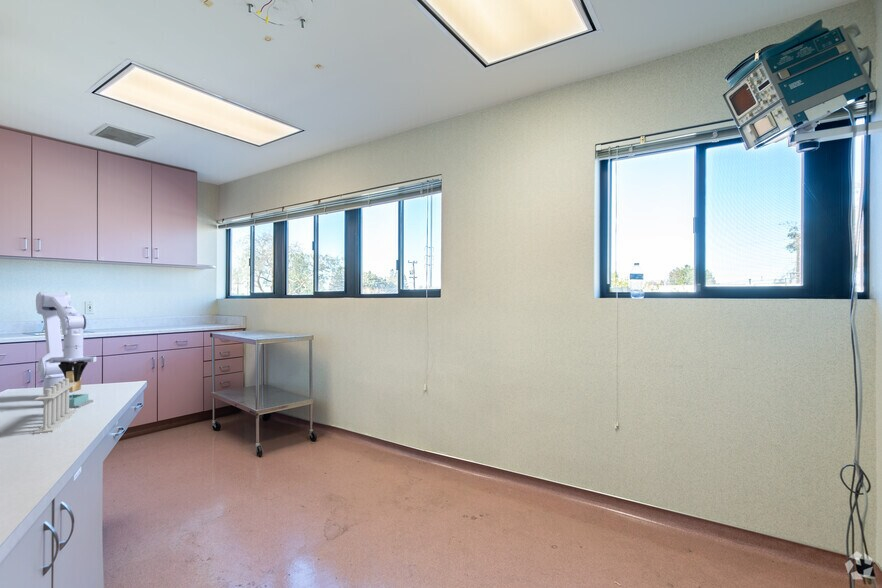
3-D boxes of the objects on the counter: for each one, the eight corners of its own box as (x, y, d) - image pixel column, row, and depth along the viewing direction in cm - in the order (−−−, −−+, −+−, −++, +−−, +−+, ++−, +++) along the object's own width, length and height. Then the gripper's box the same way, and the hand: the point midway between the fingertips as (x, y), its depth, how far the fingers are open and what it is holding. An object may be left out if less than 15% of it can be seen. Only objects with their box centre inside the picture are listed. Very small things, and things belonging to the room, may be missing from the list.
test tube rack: (52, 432, 127) (53, 390, 127) (33, 434, 125) (34, 392, 125) (76, 412, 149) (77, 376, 149) (60, 413, 147) (61, 377, 147)
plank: (74, 389, 160) (74, 369, 160) (80, 389, 161) (81, 369, 161) (65, 392, 155) (66, 371, 155) (72, 392, 156) (72, 371, 156)
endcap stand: (66, 402, 161) (66, 394, 161) (93, 401, 163) (93, 393, 163) (50, 409, 152) (50, 400, 152) (78, 407, 154) (78, 399, 154)
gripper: (43, 347, 152) (43, 383, 152) (88, 347, 156) (88, 382, 155) (56, 345, 159) (56, 380, 159) (99, 344, 162) (99, 378, 162)
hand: (73, 380), depth 158 cm, fingers closed on plank, 2 cm apart
